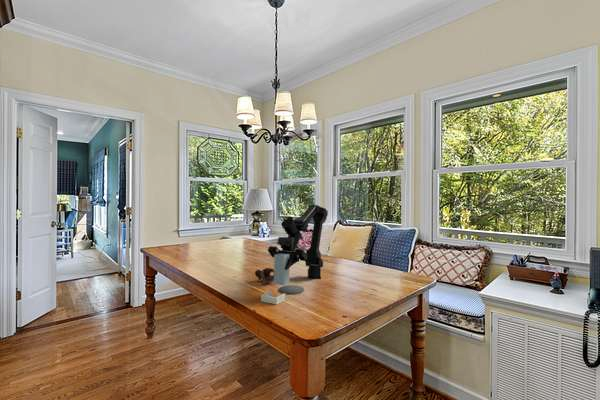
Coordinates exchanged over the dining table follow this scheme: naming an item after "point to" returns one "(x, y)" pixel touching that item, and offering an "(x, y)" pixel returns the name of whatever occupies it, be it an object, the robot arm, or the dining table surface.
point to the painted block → (281, 269)
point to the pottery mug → (265, 275)
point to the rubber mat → (291, 289)
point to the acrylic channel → (272, 298)
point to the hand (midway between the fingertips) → (280, 269)
